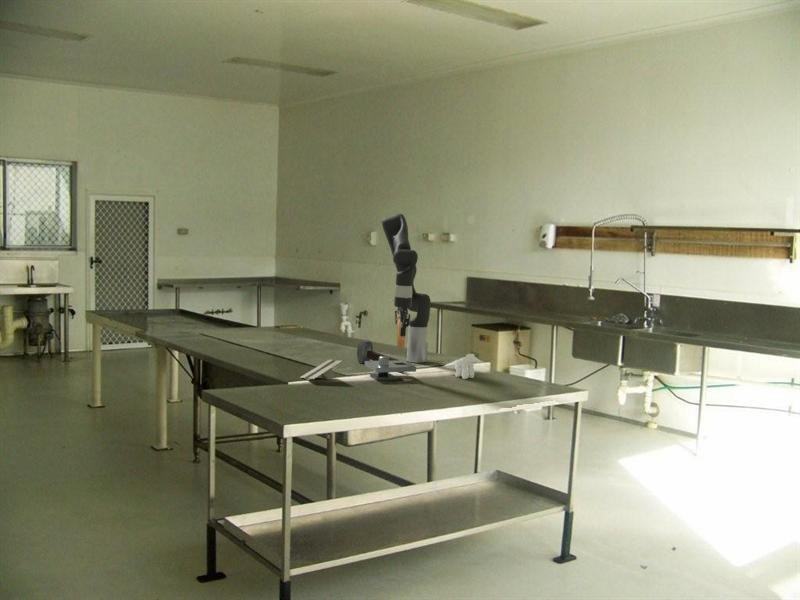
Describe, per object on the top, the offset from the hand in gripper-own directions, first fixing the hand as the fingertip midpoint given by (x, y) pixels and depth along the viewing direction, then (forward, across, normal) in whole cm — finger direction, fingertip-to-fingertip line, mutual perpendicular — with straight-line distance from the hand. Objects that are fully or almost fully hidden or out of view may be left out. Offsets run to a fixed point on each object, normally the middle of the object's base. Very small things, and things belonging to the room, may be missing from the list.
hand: (401, 335), depth 365 cm
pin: (+5, 0, 0) cm, 5 cm away
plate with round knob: (+18, 0, -4) cm, 19 cm away
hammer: (+19, -24, 0) cm, 31 cm away
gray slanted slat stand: (+19, +2, -36) cm, 40 cm away
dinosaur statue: (+19, +2, +29) cm, 34 cm away
